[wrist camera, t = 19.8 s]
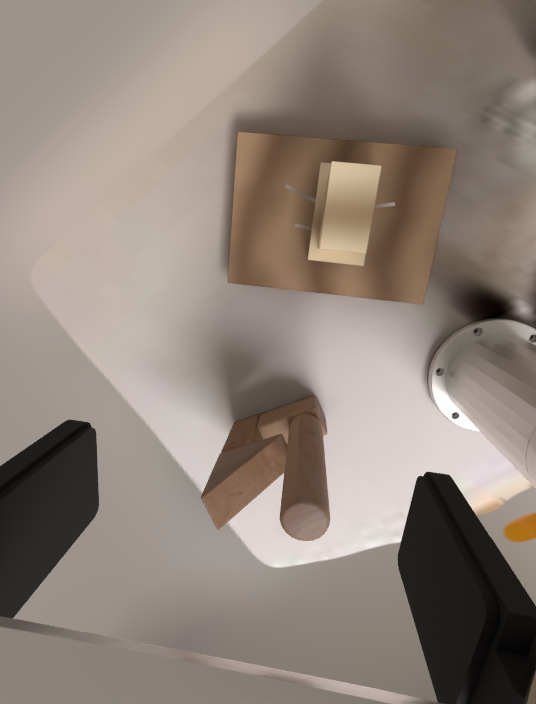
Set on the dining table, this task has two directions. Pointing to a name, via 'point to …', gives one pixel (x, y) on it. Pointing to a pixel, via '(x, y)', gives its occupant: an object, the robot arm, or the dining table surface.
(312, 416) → the wooden block
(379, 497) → the dining table surface
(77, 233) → the dining table surface
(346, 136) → the dining table surface
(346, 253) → the block
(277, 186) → the walnut board
